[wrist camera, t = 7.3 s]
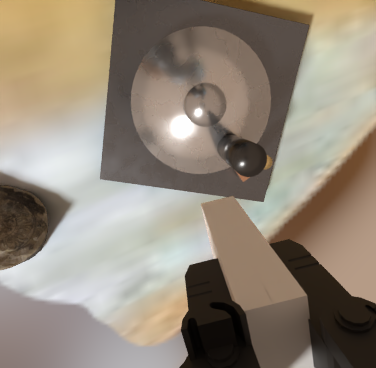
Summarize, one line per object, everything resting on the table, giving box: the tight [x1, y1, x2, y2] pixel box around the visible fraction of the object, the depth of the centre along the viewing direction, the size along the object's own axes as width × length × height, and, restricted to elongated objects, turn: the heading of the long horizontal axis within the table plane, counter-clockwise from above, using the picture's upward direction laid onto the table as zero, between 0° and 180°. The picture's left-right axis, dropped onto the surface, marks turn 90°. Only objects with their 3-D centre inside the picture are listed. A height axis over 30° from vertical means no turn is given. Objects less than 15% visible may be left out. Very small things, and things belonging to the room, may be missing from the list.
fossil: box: [0, 185, 48, 270], centre depth 34 cm, size 11×9×10 cm
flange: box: [131, 26, 271, 182], centre depth 27 cm, size 18×16×9 cm
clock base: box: [100, 0, 309, 202], centre depth 31 cm, size 22×22×7 cm
